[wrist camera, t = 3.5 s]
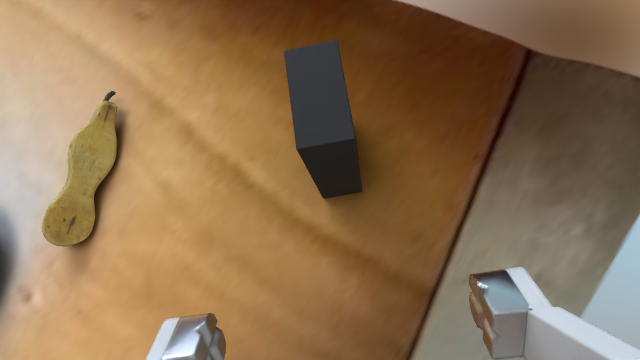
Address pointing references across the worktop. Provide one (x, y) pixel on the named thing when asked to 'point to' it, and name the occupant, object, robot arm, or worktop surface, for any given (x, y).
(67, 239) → the yellow-green lumpy piece
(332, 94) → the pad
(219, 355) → the robot arm
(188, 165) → the worktop surface
